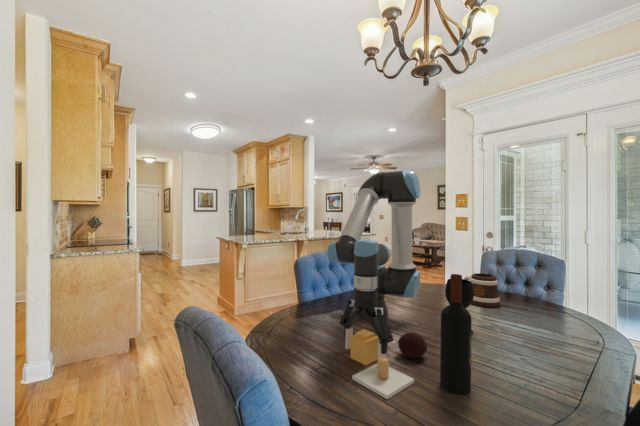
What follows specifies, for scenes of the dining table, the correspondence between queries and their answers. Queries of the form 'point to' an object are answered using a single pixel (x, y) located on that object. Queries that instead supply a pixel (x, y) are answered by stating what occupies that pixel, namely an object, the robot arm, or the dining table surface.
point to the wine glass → (466, 293)
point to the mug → (484, 290)
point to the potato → (412, 345)
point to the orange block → (364, 347)
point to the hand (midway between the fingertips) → (364, 355)
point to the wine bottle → (455, 343)
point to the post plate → (383, 385)
